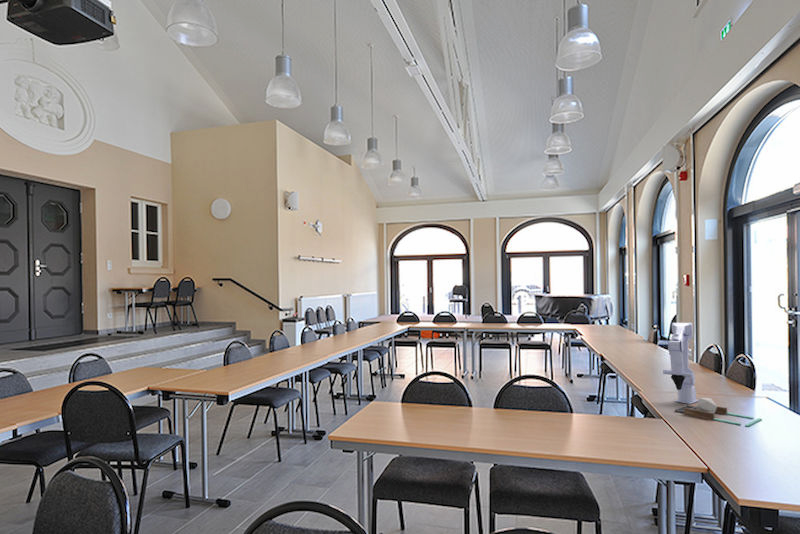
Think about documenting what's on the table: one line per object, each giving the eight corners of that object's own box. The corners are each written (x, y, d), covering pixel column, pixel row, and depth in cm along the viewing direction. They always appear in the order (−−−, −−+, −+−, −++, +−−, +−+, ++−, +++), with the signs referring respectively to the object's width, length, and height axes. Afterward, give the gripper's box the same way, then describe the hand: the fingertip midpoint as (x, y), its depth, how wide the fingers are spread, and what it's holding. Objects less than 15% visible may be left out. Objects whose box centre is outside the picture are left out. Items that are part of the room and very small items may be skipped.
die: (716, 413, 229) (702, 396, 234) (724, 409, 222) (709, 392, 227) (703, 421, 228) (688, 403, 233) (711, 417, 221) (696, 399, 226)
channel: (699, 408, 237) (698, 402, 237) (727, 413, 226) (726, 407, 226) (684, 414, 229) (684, 408, 229) (713, 420, 218) (712, 413, 218)
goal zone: (727, 413, 226) (727, 412, 226) (761, 420, 214) (761, 418, 214) (713, 420, 218) (713, 418, 218) (748, 426, 206) (748, 425, 206)
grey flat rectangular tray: (686, 407, 241) (686, 405, 241) (696, 408, 237) (696, 406, 237) (674, 411, 235) (674, 409, 235) (685, 413, 230) (684, 411, 230)
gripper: (659, 363, 243) (661, 388, 242) (687, 366, 231) (690, 393, 230) (665, 361, 247) (668, 386, 246) (694, 364, 234) (696, 390, 234)
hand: (679, 389), depth 238 cm, fingers closed
